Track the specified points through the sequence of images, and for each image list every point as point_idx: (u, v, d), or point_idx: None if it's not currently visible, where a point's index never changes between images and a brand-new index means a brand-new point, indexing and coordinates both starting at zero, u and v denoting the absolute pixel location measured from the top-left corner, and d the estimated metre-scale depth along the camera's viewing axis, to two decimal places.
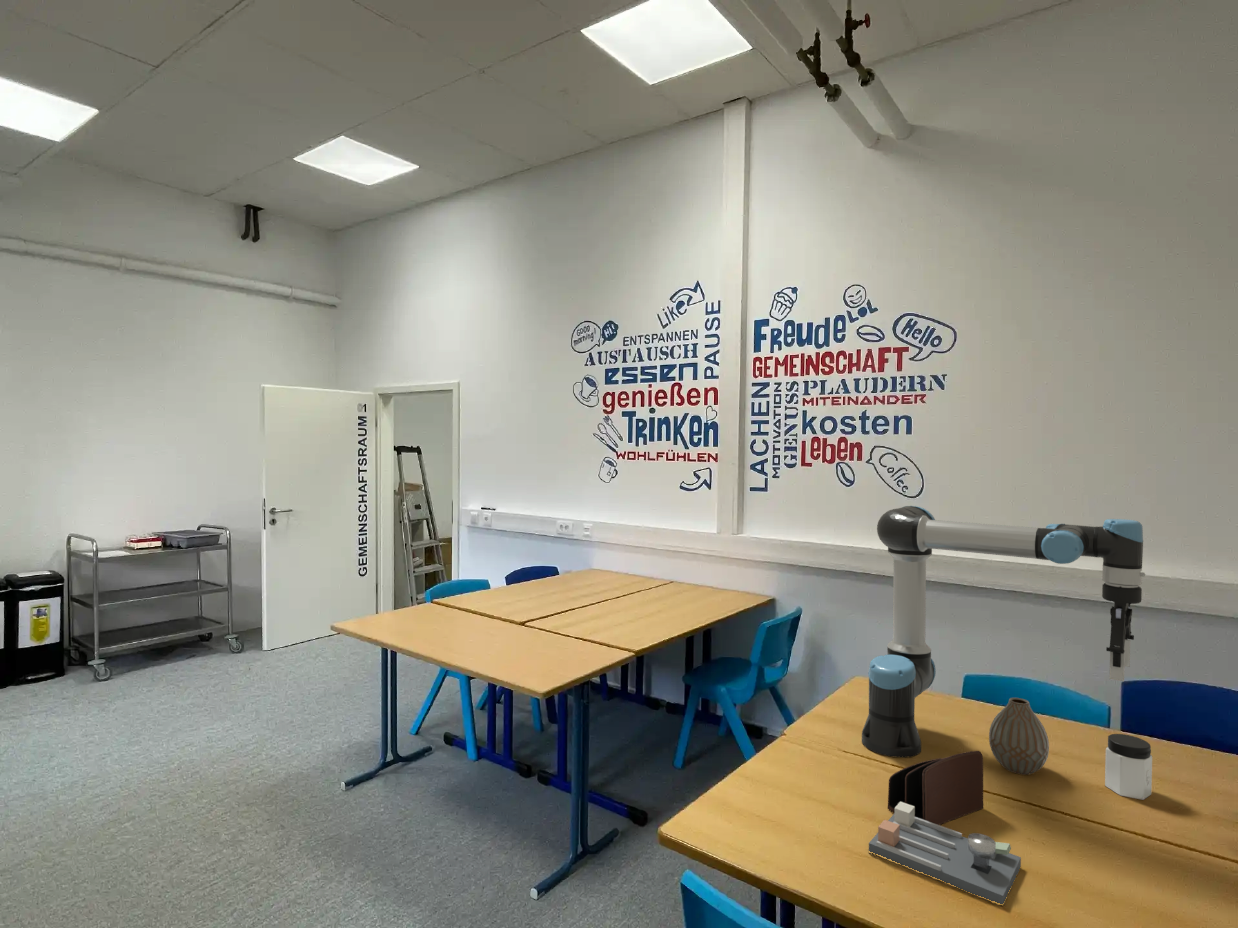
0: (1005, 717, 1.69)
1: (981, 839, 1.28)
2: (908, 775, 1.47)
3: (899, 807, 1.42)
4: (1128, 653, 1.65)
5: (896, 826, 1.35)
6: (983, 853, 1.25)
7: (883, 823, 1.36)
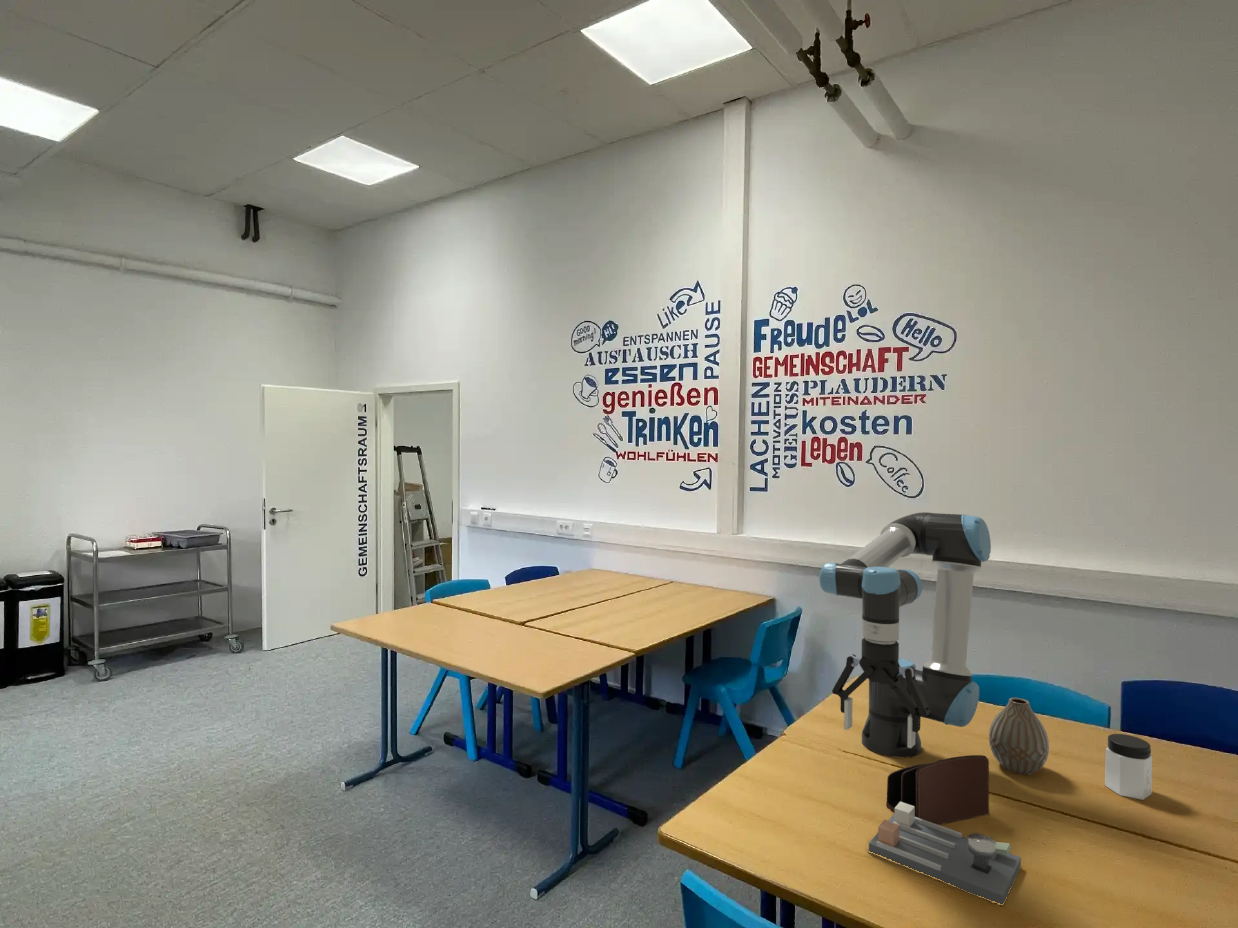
0: (1005, 717, 1.69)
1: (981, 839, 1.28)
2: (904, 774, 1.48)
3: (899, 807, 1.42)
4: None
5: (896, 826, 1.35)
6: (983, 853, 1.25)
7: (883, 823, 1.36)
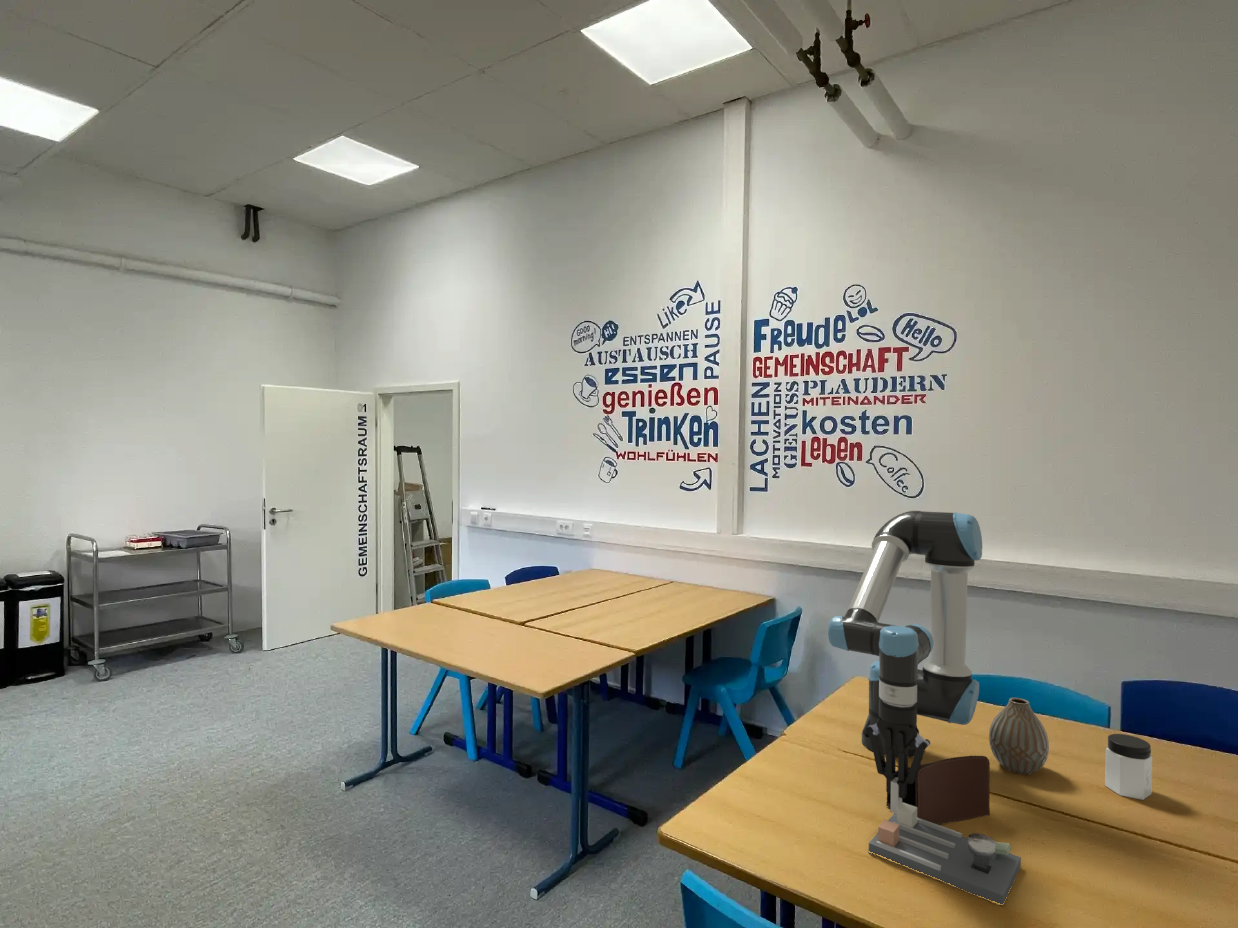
0: (1005, 717, 1.69)
1: (981, 839, 1.28)
2: None
3: (902, 808, 1.42)
4: None
5: (896, 826, 1.35)
6: (983, 853, 1.25)
7: (883, 823, 1.36)
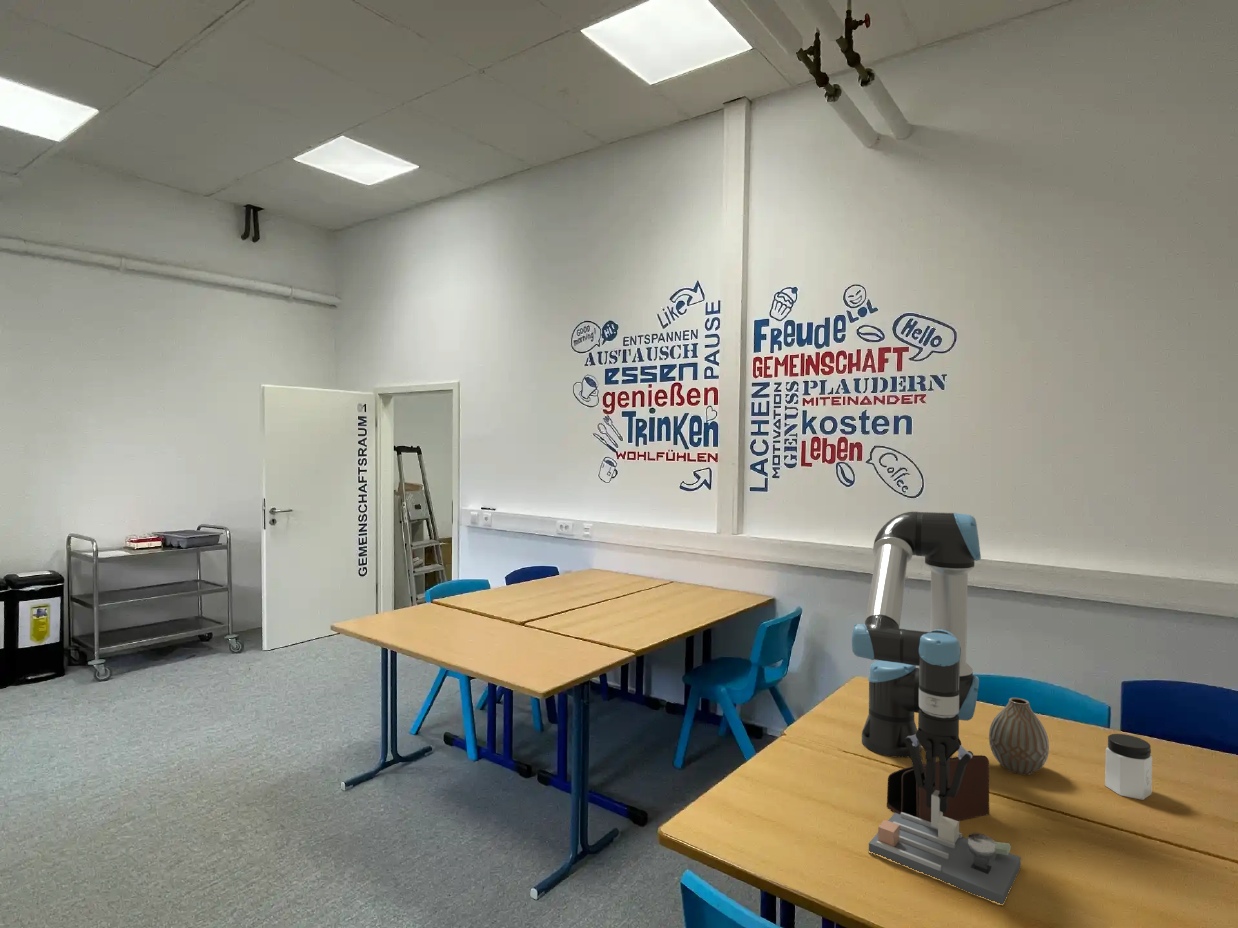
0: (1005, 717, 1.69)
1: (981, 839, 1.28)
2: (905, 774, 1.48)
3: (943, 822, 1.36)
4: None
5: (896, 826, 1.35)
6: (983, 853, 1.25)
7: (883, 823, 1.36)
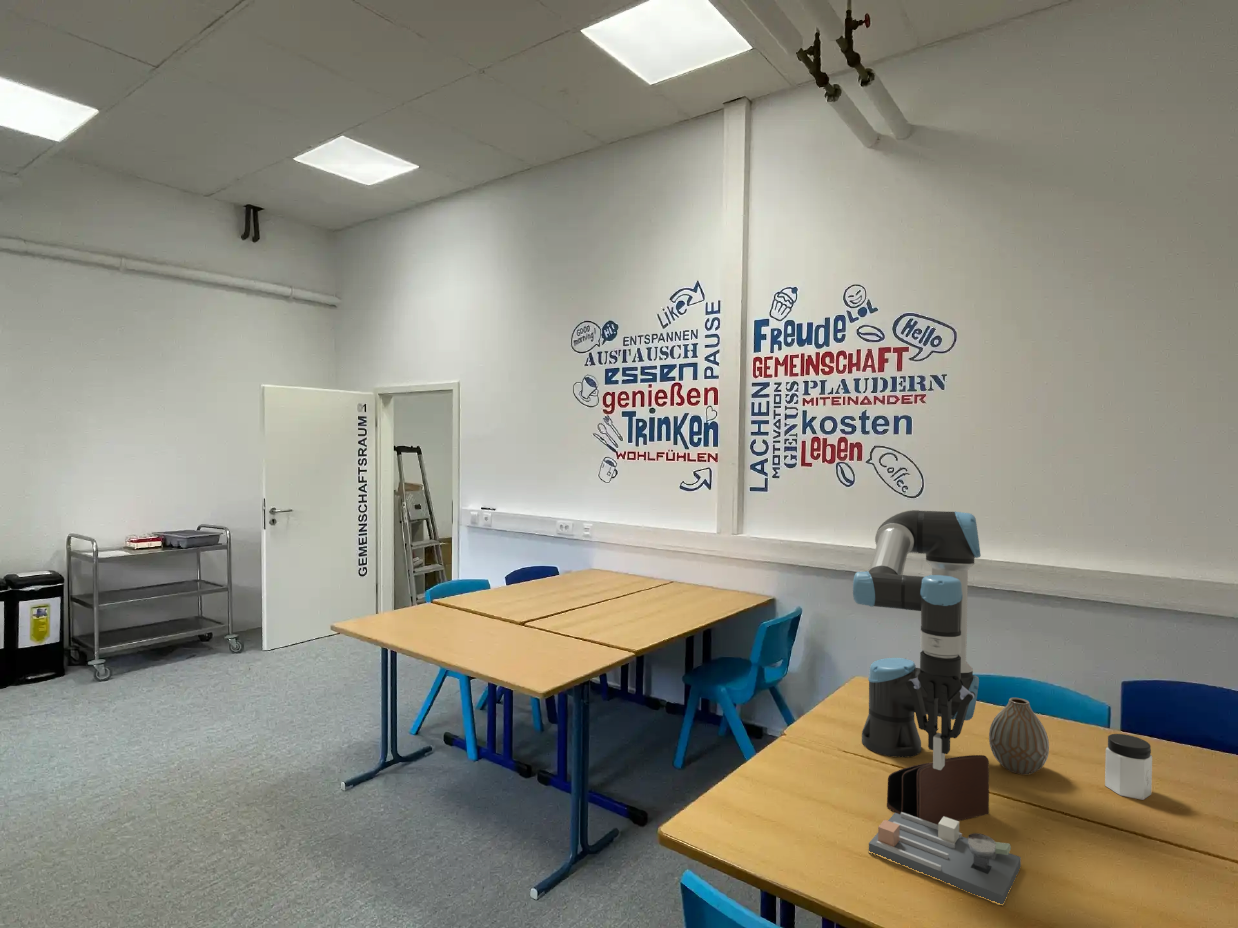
0: (1005, 717, 1.69)
1: (981, 839, 1.28)
2: (905, 774, 1.48)
3: (943, 822, 1.36)
4: None
5: (896, 826, 1.35)
6: (983, 853, 1.25)
7: (883, 823, 1.36)
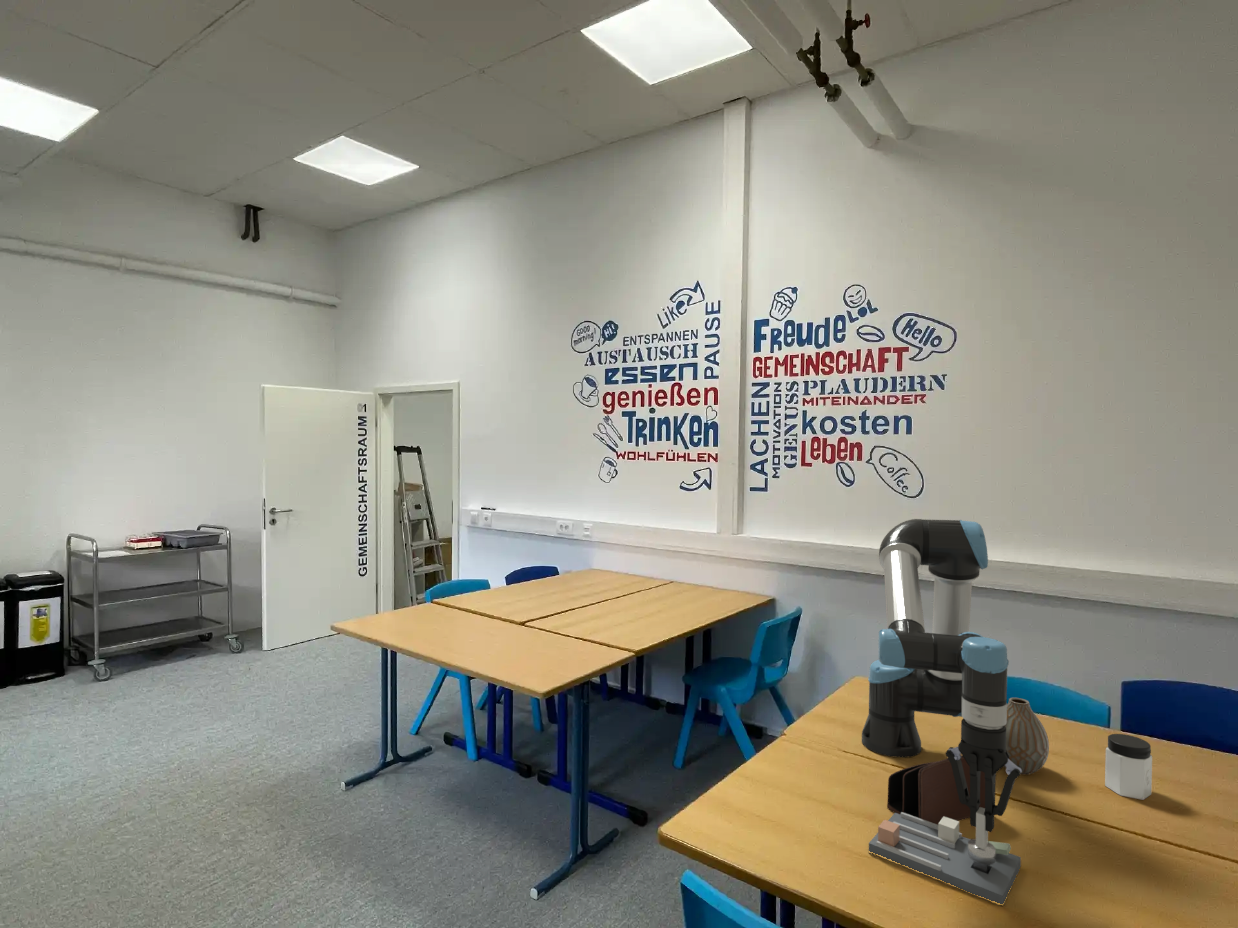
0: None
1: None
2: (906, 774, 1.47)
3: (943, 822, 1.36)
4: None
5: (896, 826, 1.35)
6: (983, 859, 1.25)
7: (883, 823, 1.36)
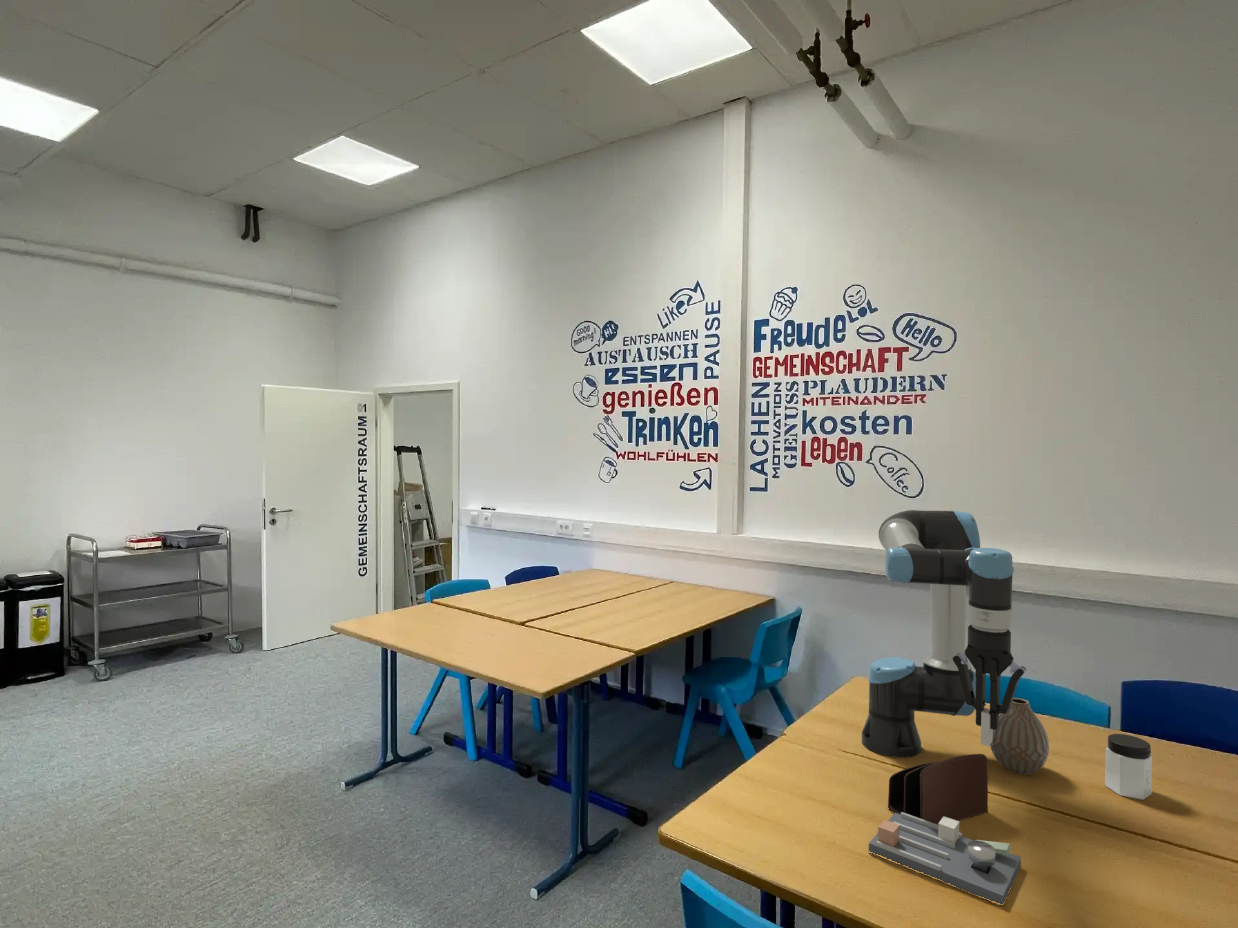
0: (1005, 717, 1.69)
1: (981, 846, 1.28)
2: (907, 775, 1.47)
3: (943, 822, 1.36)
4: None
5: (896, 826, 1.35)
6: (983, 861, 1.25)
7: (883, 823, 1.36)
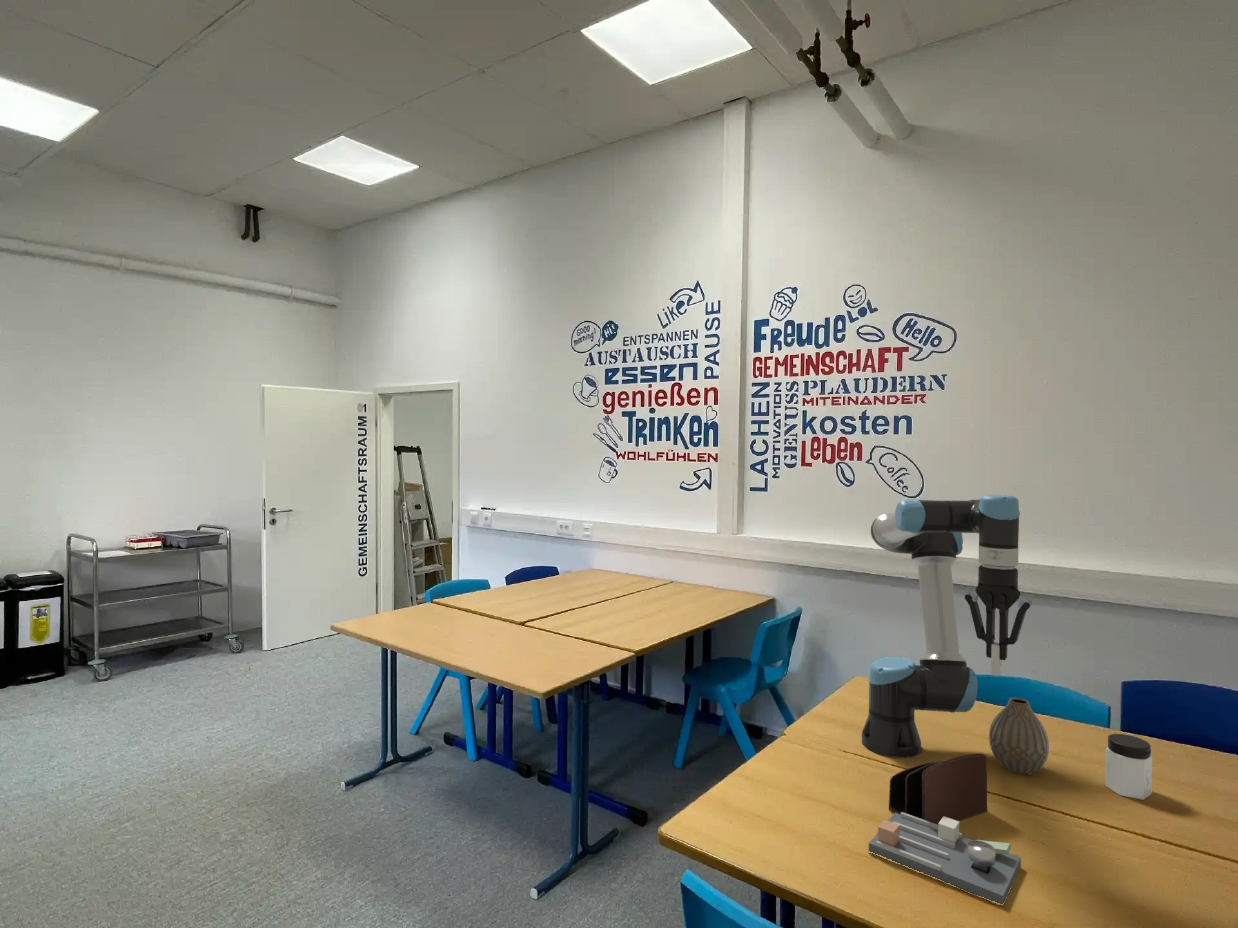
0: (1005, 717, 1.69)
1: (981, 846, 1.28)
2: (908, 776, 1.47)
3: (943, 822, 1.36)
4: None
5: (896, 826, 1.35)
6: (983, 861, 1.25)
7: (883, 823, 1.36)
